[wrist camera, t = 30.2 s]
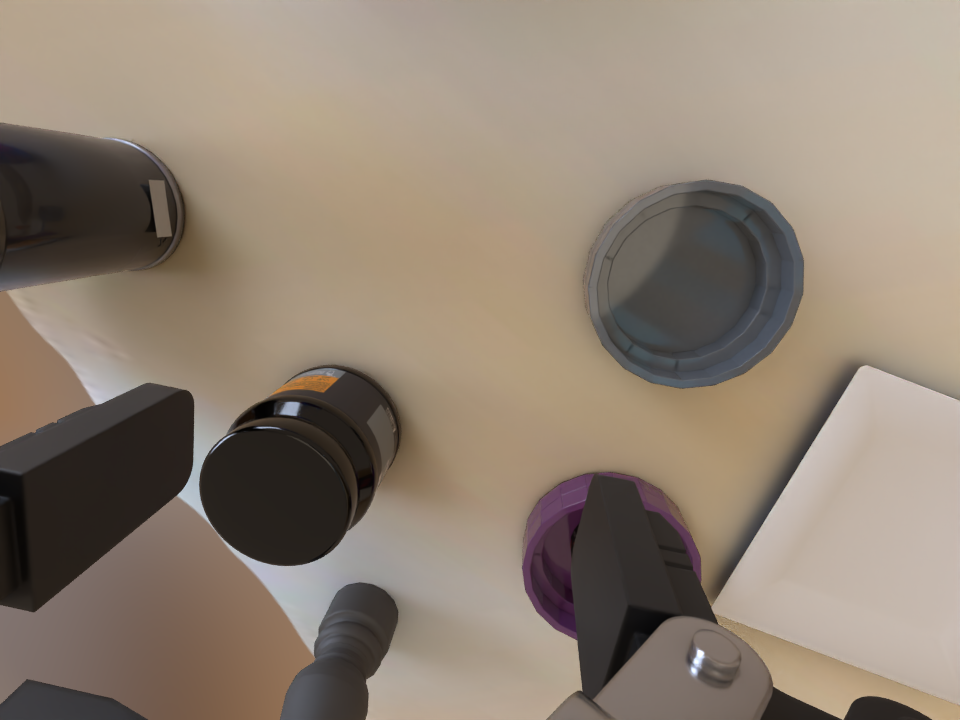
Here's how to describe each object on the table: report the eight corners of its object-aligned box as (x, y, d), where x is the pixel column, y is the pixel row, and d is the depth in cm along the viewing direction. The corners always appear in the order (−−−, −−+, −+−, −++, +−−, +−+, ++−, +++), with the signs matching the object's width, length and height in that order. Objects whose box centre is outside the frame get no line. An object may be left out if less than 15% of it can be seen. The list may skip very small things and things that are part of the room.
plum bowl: (510, 591, 47) (508, 625, 43) (541, 456, 43) (542, 480, 39) (661, 623, 46) (673, 661, 43) (707, 489, 42) (724, 517, 39)
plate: (702, 595, 45) (709, 613, 43) (847, 356, 39) (864, 364, 37) (949, 688, 45) (968, 710, 43) (1135, 466, 39) (1167, 480, 37)
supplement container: (262, 372, 43) (164, 433, 32) (387, 350, 42) (332, 406, 30) (299, 488, 46) (221, 583, 34) (418, 472, 44) (377, 565, 33)
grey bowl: (565, 351, 40) (569, 367, 37) (607, 167, 37) (616, 163, 33) (742, 385, 40) (764, 405, 36) (803, 202, 36) (835, 202, 32)
